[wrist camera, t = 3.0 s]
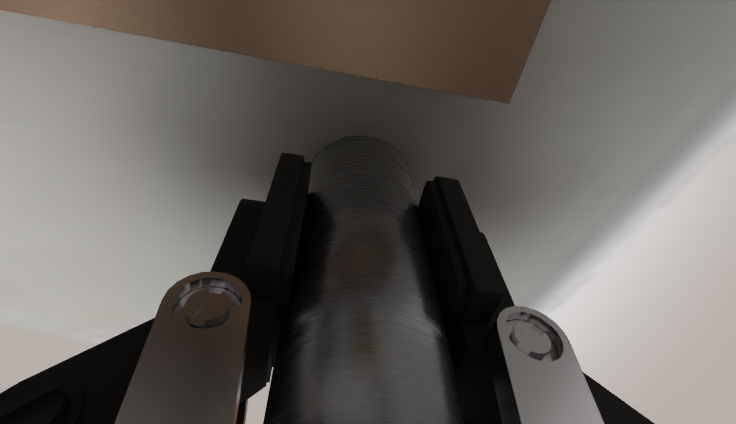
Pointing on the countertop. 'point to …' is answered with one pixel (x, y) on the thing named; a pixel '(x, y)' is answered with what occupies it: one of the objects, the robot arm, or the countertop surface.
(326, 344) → the hinge pin
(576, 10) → the countertop surface
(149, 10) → the walnut board
